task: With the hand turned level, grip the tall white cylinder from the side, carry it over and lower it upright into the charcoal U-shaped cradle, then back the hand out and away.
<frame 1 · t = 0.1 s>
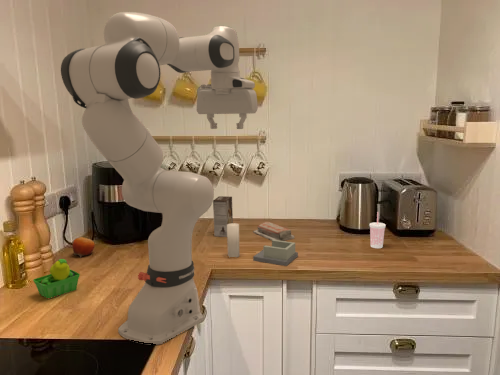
hand: (226, 128, 132), 48 cm above the worktop, tool pointing down, fingers open, 8 cm apart
beverage cup: (376, 246, 166), on the worktop
coffee box: (223, 234, 187), on the worktop
fruit basket: (59, 293, 128), on the worktop
packaged product: (273, 236, 183), on the worktop
fruit: (84, 255, 162), on the worktop
tall white cylinder: (233, 255, 158), on the worktop
cradle jig: (275, 258, 155), on the worktop
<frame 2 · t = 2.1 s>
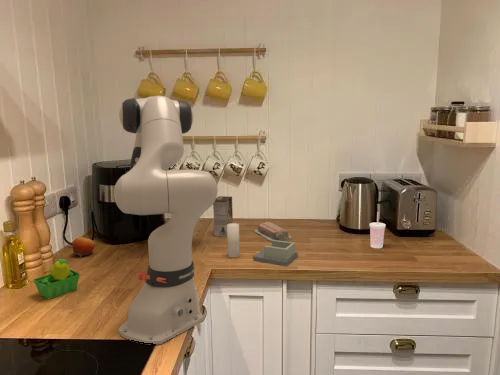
hand: (205, 193, 160), 23 cm above the worktop, tool horizontal, fingers open, 8 cm apart
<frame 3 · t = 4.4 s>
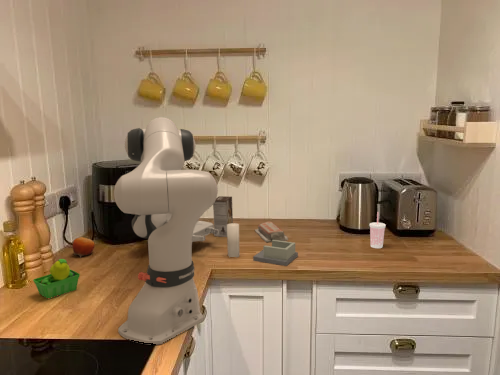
hand: (211, 235, 161), 7 cm above the worktop, tool horizontal, fingers open, 8 cm apart
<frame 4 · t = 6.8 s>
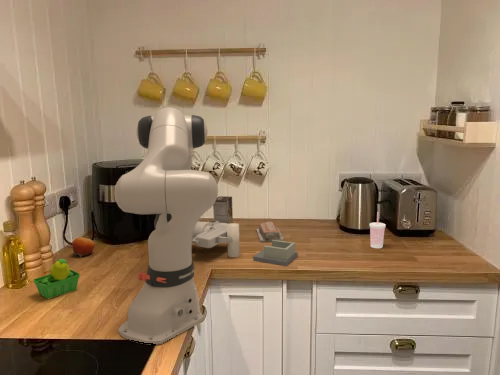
hand: (235, 237, 157), 7 cm above the worktop, tool horizontal, fingers closed on tall white cylinder, 4 cm apart
tall white cylinder: (233, 255, 158), on the worktop, touching gripper
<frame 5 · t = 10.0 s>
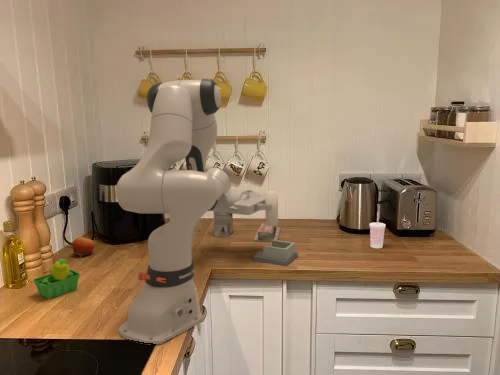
hand: (274, 205, 151), 20 cm above the worktop, tool horizontal, fingers closed on tall white cylinder, 4 cm apart
tall white cylinder: (271, 224, 152), point 13 cm above the worktop, touching gripper
when the fingers open (10 cm above the worktop, at t = 13.1 s): tall white cylinder drops 1 cm, resting on cradle jig.
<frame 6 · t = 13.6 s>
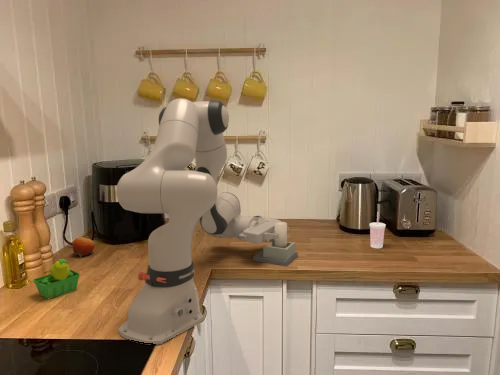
hand: (283, 233, 152), 10 cm above the worktop, tool horizontal, fingers open, 8 cm apart
tall white cylinder: (280, 255, 154), point 2 cm above the worktop, touching cradle jig
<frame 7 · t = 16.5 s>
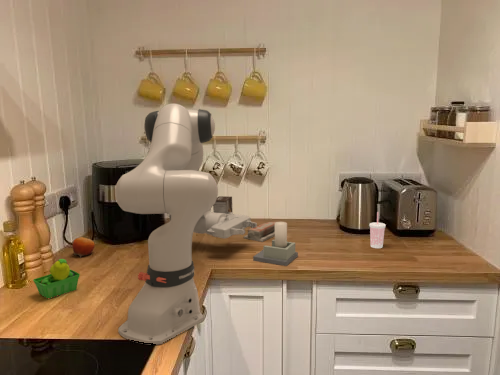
hand: (250, 228, 158), 10 cm above the worktop, tool horizontal, fingers open, 8 cm apart
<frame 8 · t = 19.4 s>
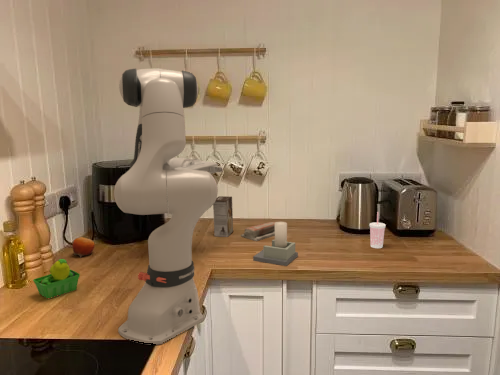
hand: (215, 171, 152), 32 cm above the worktop, tool horizontal, fingers open, 8 cm apart
at the end: tall white cylinder 1.0 cm from the target spot on the cradle jig, point 1.5 cm above the cradle jig's base; tall white cylinder tilted 0°; the gripper is holding nothing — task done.
